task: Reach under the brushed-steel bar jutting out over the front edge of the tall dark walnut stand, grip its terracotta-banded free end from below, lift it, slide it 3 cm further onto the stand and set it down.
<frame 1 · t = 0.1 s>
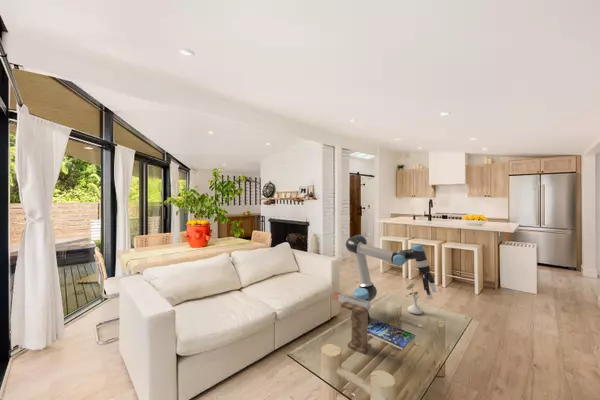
hand: (432, 295, 192), 28 cm above the table, tool tilted 20°, fingers open, 13 cm apart
walnut stand: (355, 345, 180), on the table
flower in vase: (413, 312, 224), on the table
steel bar: (350, 303, 180), point 28 cm above the table, touching walnut stand
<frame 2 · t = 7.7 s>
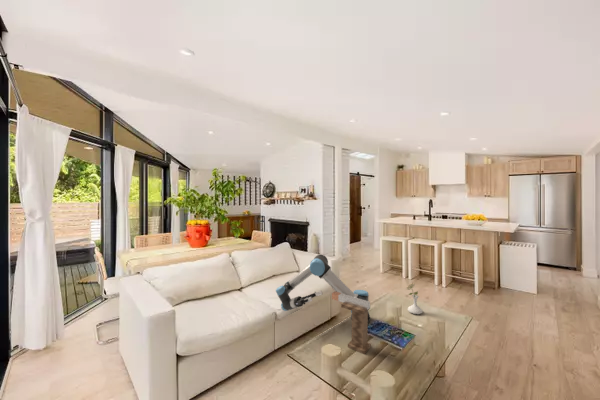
hand: (316, 295, 197), 26 cm above the table, tool pointing upward, fingers open, 13 cm apart
nothing on the table moved.
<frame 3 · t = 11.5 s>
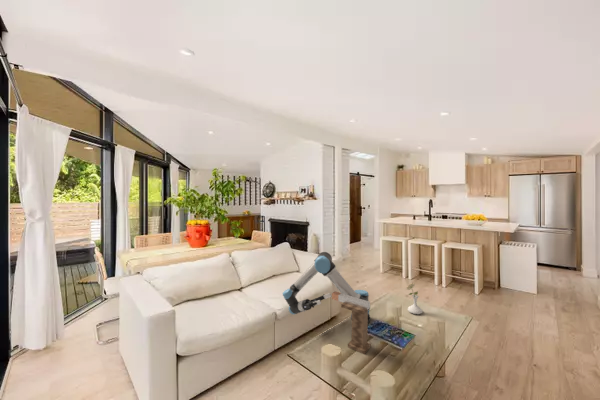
hand: (325, 298, 191), 26 cm above the table, tool pointing upward, fingers open, 13 cm apart
nothing on the table moved.
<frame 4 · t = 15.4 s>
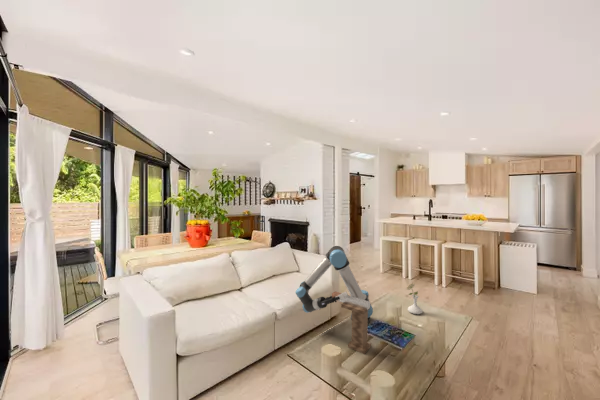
hand: (345, 294, 182), 33 cm above the table, tool pointing upward, fingers closed on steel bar, 4 cm apart
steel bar: (350, 303, 180), point 28 cm above the table, touching gripper, walnut stand
everything else where it was.
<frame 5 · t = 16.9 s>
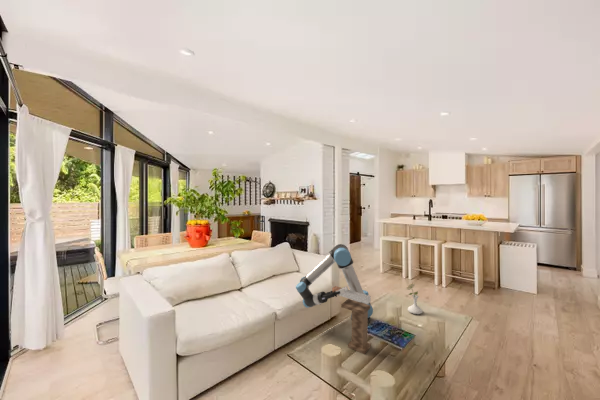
hand: (345, 289, 181), 37 cm above the table, tool pointing upward, fingers closed on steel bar, 4 cm apart
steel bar: (350, 297, 179), point 32 cm above the table, touching gripper
everything else where it was.
when the fingers open (34 cm above the table, at t = 18.6 s): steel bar drops 1 cm, resting on walnut stand.
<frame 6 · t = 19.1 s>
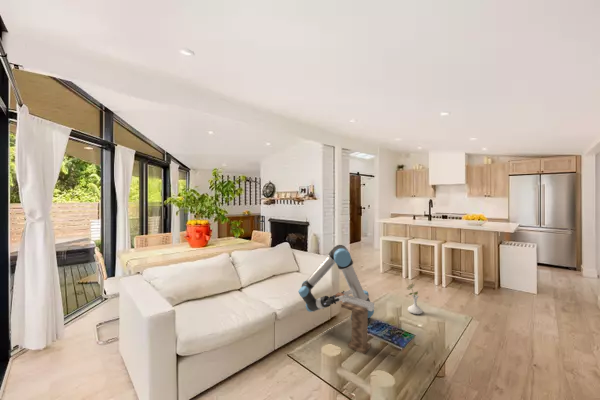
hand: (347, 294, 181), 33 cm above the table, tool pointing upward, fingers open, 11 cm apart
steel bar: (354, 304, 178), point 28 cm above the table, touching walnut stand
everything else where it was.
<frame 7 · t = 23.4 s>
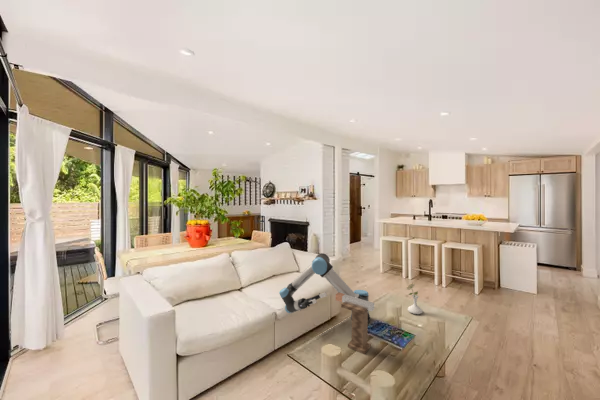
hand: (321, 297, 194), 26 cm above the table, tool pointing upward, fingers open, 13 cm apart
nothing on the table moved.
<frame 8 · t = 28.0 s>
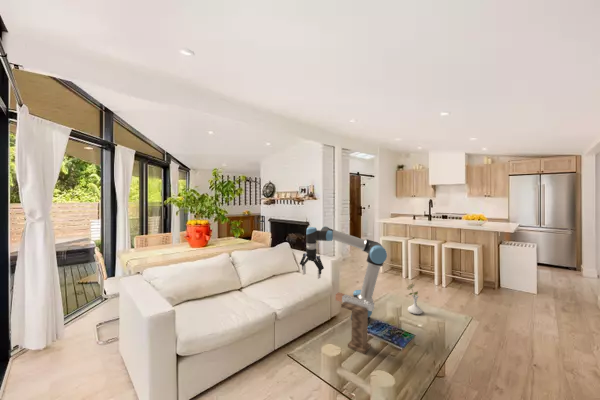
hand: (311, 276, 200), 39 cm above the table, tool pointing down, fingers open, 13 cm apart
nothing on the table moved.
at the end: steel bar 0.7 cm from the target spot, point 28.0 cm above the table; the gripper is holding nothing; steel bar tilted 0° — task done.
